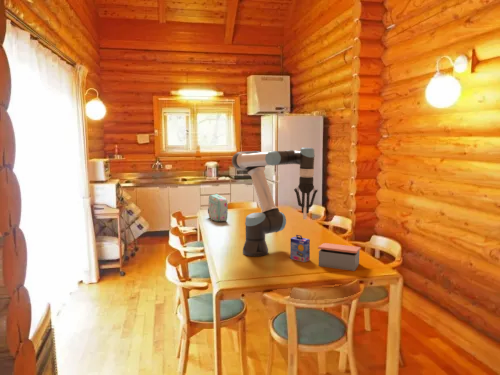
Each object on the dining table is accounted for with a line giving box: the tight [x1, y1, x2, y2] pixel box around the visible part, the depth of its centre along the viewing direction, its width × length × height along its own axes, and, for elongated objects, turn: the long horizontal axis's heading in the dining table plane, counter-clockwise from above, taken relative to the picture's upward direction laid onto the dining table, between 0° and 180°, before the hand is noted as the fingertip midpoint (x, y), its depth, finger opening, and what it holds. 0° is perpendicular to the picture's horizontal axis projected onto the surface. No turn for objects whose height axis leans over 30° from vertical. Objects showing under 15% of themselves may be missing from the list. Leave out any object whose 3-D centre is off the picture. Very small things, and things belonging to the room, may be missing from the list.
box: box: [318, 249, 360, 272], centre depth 204 cm, size 19×12×8 cm, turn 64°
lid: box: [317, 242, 362, 253], centre depth 203 cm, size 20×12×1 cm, turn 64°
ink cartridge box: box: [289, 234, 311, 263], centre depth 213 cm, size 10×6×14 cm, turn 51°
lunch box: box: [207, 193, 229, 223], centre depth 318 cm, size 27×10×21 cm, turn 25°
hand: (304, 218), depth 209 cm, fingers closed
